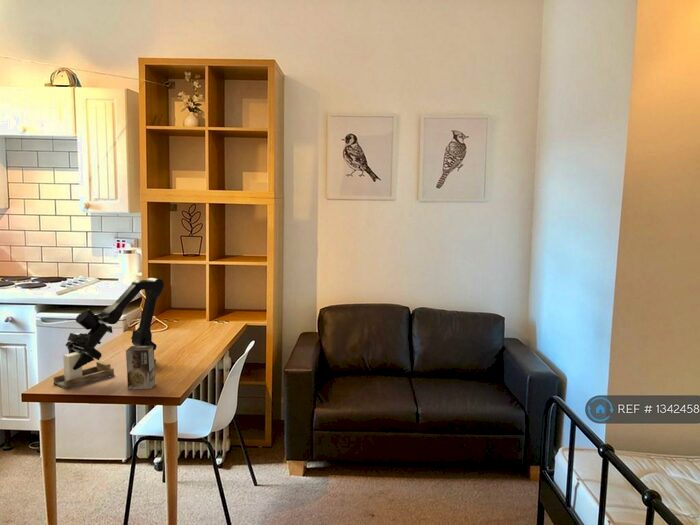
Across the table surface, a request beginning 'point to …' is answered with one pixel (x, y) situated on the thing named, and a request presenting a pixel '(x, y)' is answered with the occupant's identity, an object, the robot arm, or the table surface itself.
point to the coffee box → (140, 367)
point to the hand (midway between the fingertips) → (69, 368)
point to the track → (86, 375)
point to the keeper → (71, 366)
